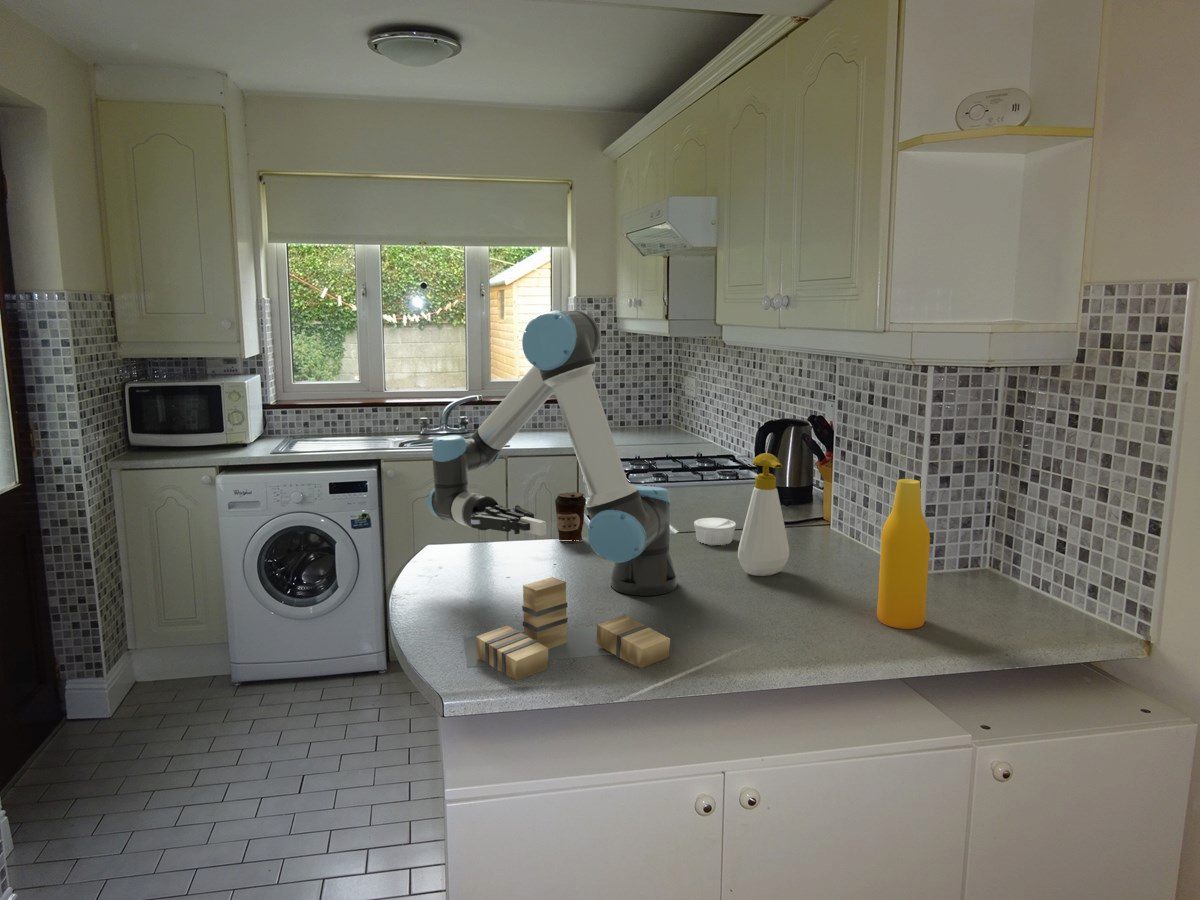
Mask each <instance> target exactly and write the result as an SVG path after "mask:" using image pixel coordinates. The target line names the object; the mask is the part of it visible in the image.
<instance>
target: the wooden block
mask: <svg viewBox="0 0 1200 900" xmlns="http://www.w3.org/2000/svg"><path fill="white" fill-rule="evenodd" d="M522 598H523V599H522V601H523V605H522V606H521V607H522V612H523V621H522V627H523V632H524V635H526V634H527V635H528V636H529V638H531V639H533V640H534V639H535V640H537V641H538V643H540V644H542V645H544V646H545V647H547V648H548V649H550V648H553V647H556V646H559V645H562V644H565V643H567V629H568V628H567V625H568V624H567V623H568V622H569V621H568V617H567V608H568V602H567V582H566V581H564V580H561V579H559V578H556V577H554V576H551V577H548V578H544V579H541V580H537V581H534V582H530V583H526V584H523V585H522Z"/></svg>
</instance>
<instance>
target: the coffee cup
mask: <svg viewBox="0 0 1200 900" xmlns="http://www.w3.org/2000/svg"><path fill="white" fill-rule="evenodd" d="M584 494H585V493H581V492H577V491H576V492H574V491H573V492H564V493H563V492H562V493H557V497H556V498H555V500H554V503H555V504H554V505H555V512H556V525H557V533H558V541H559V540H572V541H560V542H561V543H566V544H575V543H581V542H582V541H583V537H582V532H583V527H584V523H585V508H586V504H587V498H586V497H584ZM574 540H575V541H574ZM576 540H579V541H576Z"/></svg>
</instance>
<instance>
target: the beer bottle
mask: <svg viewBox="0 0 1200 900" xmlns="http://www.w3.org/2000/svg"><path fill="white" fill-rule="evenodd" d="M894 492H895V493H894V500H893V505H892V508H891V512H890V513H889V516H888V517H887V519H886V521H885V522H884V525H883V528H882V532H881V537H880V555H879V556H880V557H879V558H880V559H879V576H878V594H877V598H878V599H877V607H876V615H877V619H878V621H879V622H880V623H881V624H883V625H885V626H887V627H890V628H894V629H899V630H901V629H902V630H915V629H919V628H921V627H922V626H924V624H925V621H926V615H927V612H926V611H927V609H926V608H927V595H928V594H927V592H928V590H927V589H928V576H929V561H930V559H929V558H930V545H931V537H930V536H931V535H930V534H931V533H930V530H929V526H928V524H927V521H926V519H925V517H924V514H923V509H922V508H923V507H922V494H921V481H920V480H916V479H910V478H900V479H898V480H897V481H896V487H895V491H894Z"/></svg>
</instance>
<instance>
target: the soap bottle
mask: <svg viewBox="0 0 1200 900" xmlns="http://www.w3.org/2000/svg"><path fill="white" fill-rule="evenodd" d="M752 465H755V466H760V467H761V466H762V473H758V474H757V476H755V478H754V480H755V481H754V487H753V489H752V493H751V496H750V501H749V504H748V509H747V512H746V513H747V514H746V516H745V520H744V524H743V529H742V532H741V537H740V540H739V545H738V548H737V549H738V550H737V558H738V561H739V563H740V566H741V568H742V569H743V570H744V572H746V573H747V574H749V575H750V576H754V577H766V576H773V575H776V574H778V573H779V572H780V571H782V570H783V568H784V567H785V566H786V564H787V561H788V559H789V556H790V545H789V542H788V541H789V540H788V536H787V531H786V526H785V521H784V516H783V511H782V507H781V501H780V496H779V492H778V491H779V490H778V488H777V486H776V483H777V477H776V476H775V475H774V474H773V473H770V468H773V469H778V468H779V469H781V468H782V467H783V464H782V463H780V459H779V458H778V457H776V456H775V455H774V454H772V453H768V452H766V453H765V452H764V453H760V454H757V456H755V457H754V459H753V460H752Z"/></svg>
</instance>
